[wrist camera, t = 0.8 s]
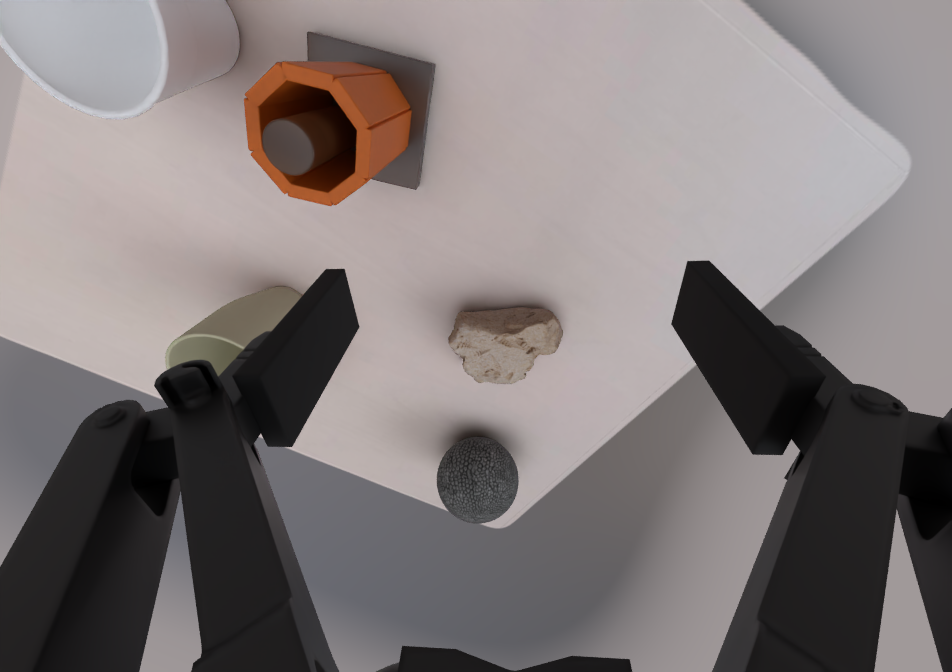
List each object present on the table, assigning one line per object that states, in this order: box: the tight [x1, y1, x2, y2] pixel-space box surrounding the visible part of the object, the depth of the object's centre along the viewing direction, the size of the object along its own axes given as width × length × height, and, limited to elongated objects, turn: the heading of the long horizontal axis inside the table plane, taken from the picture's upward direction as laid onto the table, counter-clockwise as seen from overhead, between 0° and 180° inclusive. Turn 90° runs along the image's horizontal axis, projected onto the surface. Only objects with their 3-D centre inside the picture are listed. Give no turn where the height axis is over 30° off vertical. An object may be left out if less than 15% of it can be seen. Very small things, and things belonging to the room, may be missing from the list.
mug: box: [165, 286, 302, 376], centre depth 39 cm, size 11×10×12 cm
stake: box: [262, 32, 435, 190], centre depth 26 cm, size 9×9×15 cm
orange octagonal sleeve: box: [244, 61, 412, 206], centre depth 27 cm, size 7×7×11 cm
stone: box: [448, 307, 563, 384], centre depth 41 cm, size 9×11×5 cm
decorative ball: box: [437, 437, 518, 523], centre depth 50 cm, size 10×10×10 cm
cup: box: [0, 0, 240, 119], centre depth 25 cm, size 10×10×11 cm
